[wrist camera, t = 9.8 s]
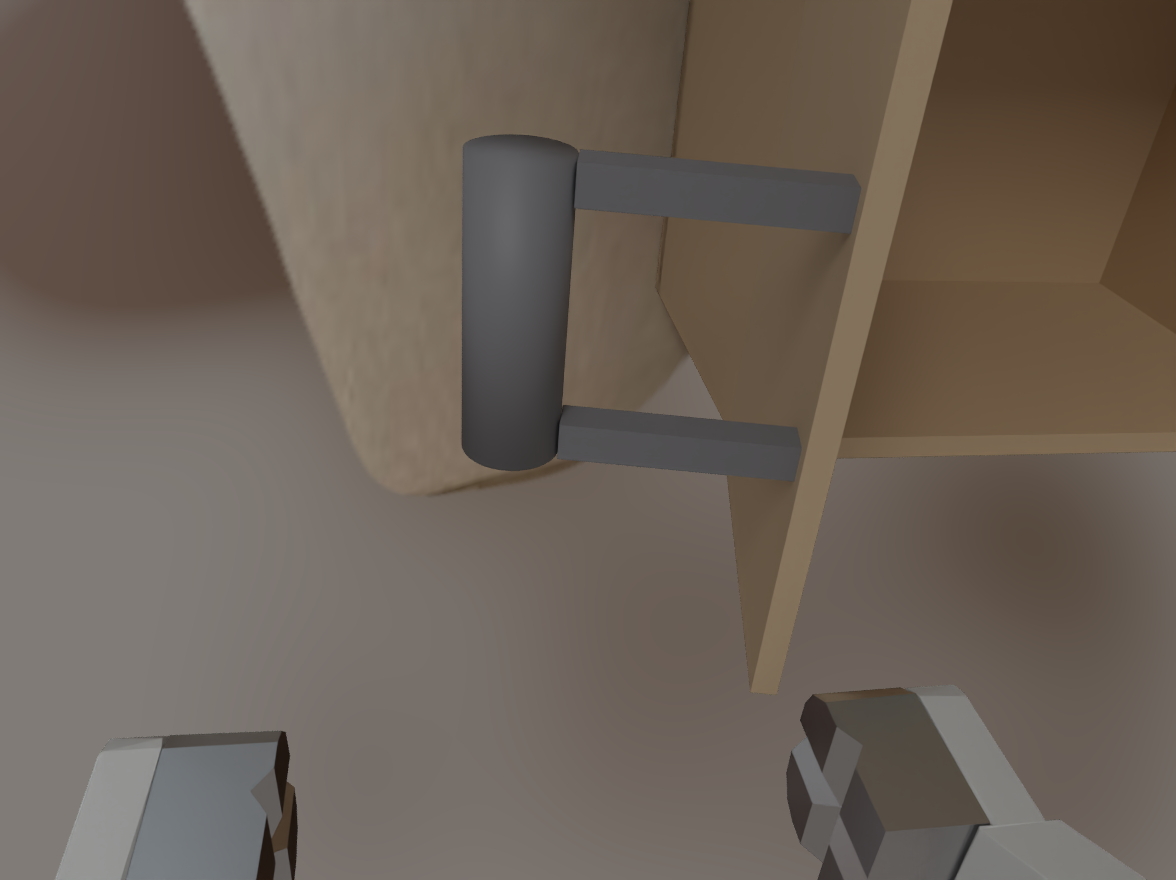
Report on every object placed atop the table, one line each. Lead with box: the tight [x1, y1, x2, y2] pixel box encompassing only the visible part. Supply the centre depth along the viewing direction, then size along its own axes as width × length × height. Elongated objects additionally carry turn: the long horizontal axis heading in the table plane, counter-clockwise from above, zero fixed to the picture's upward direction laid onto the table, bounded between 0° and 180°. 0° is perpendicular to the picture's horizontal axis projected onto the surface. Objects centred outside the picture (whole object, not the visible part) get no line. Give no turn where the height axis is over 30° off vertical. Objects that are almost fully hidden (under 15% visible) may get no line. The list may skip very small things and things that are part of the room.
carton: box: [656, 0, 1176, 458], centre depth 34 cm, size 18×22×14 cm
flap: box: [462, 0, 953, 695], centre depth 22 cm, size 17×10×7 cm
